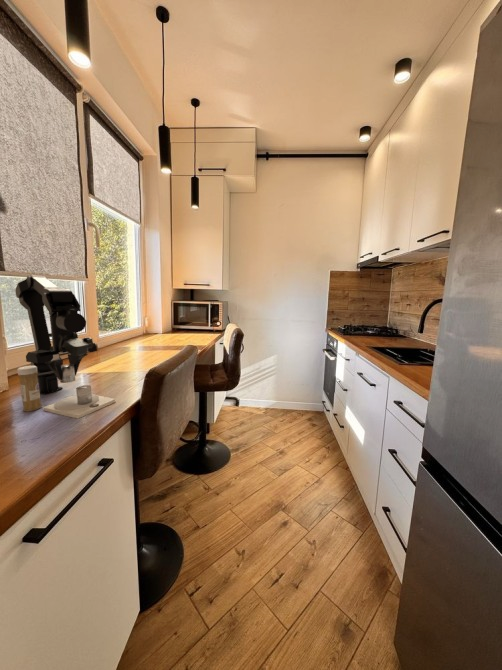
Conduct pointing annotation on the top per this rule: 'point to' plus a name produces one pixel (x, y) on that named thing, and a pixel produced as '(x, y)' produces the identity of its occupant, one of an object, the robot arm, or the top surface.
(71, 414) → the scale
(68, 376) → the cylinder
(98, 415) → the top surface
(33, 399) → the sprinkles bottle
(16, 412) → the top surface
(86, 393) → the cylinder
